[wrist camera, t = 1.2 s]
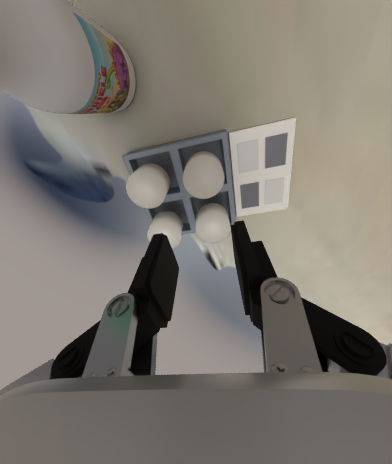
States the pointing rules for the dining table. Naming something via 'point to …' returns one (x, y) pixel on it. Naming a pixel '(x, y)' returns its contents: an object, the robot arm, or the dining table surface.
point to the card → (262, 166)
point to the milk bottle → (61, 59)
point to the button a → (148, 185)
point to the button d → (212, 223)
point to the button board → (174, 164)
